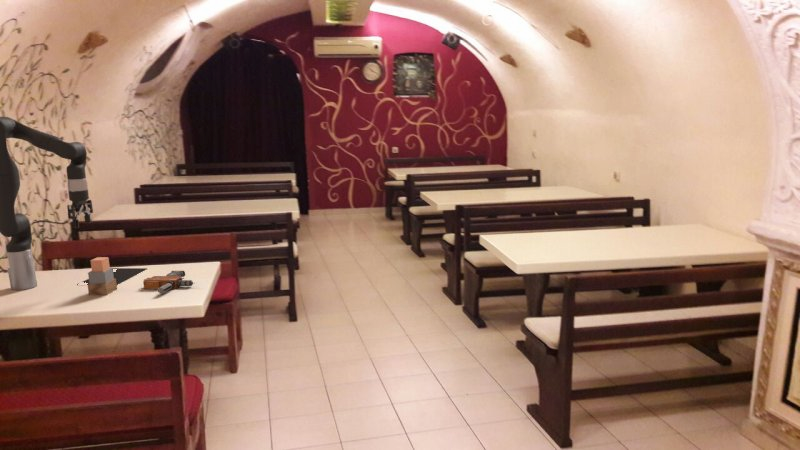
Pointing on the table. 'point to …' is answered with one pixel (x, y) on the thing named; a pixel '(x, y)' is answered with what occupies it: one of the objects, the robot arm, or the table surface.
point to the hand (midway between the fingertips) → (82, 225)
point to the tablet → (124, 274)
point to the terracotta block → (100, 264)
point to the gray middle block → (101, 277)
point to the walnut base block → (102, 288)
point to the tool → (167, 281)
